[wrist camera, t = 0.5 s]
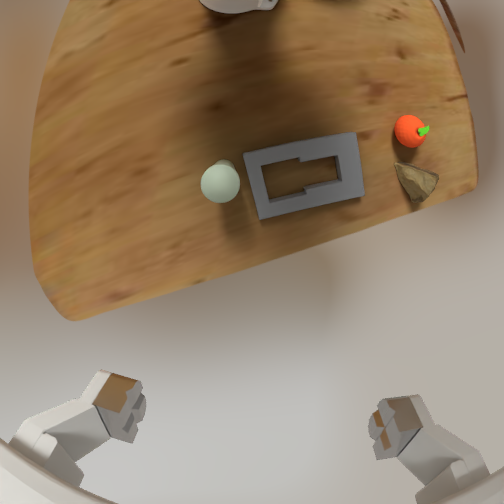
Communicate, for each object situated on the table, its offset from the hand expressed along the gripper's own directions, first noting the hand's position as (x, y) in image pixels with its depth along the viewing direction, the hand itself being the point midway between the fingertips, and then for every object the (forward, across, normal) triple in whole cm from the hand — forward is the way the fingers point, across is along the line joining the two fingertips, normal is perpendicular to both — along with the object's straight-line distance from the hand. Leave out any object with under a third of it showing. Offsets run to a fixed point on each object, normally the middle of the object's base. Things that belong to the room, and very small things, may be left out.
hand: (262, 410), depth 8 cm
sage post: (+47, +8, -5) cm, 48 cm away
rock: (+52, -31, -8) cm, 61 cm away
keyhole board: (+49, -7, -6) cm, 50 cm away
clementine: (+50, -28, -19) cm, 60 cm away
